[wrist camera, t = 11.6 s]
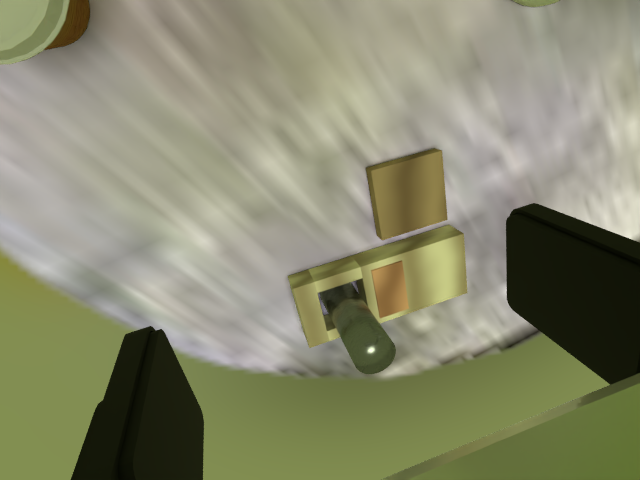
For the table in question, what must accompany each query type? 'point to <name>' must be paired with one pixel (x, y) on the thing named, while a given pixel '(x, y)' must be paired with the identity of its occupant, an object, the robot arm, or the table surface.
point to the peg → (358, 329)
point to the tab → (407, 193)
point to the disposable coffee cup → (39, 26)
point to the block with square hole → (386, 280)
